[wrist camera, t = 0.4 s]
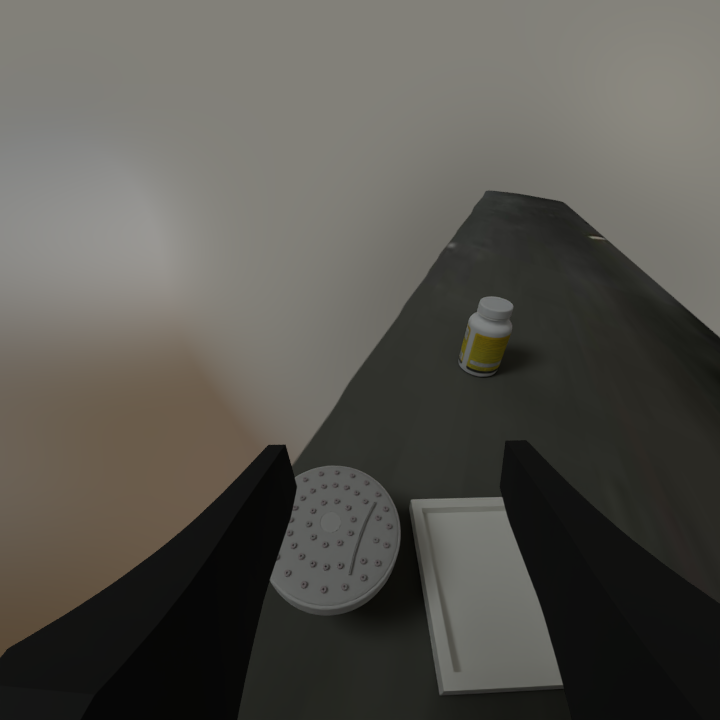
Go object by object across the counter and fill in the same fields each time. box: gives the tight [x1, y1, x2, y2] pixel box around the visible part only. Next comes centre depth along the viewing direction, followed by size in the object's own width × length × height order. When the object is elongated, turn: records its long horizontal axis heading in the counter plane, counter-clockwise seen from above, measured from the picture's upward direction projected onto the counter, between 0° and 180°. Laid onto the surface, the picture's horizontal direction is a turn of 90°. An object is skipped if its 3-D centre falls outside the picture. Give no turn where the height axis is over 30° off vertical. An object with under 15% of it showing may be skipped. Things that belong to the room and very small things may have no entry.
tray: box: [409, 497, 564, 696], centre depth 25 cm, size 12×12×2 cm
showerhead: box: [270, 466, 401, 615], centre depth 24 cm, size 9×7×10 cm
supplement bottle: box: [459, 297, 513, 377], centre depth 44 cm, size 5×5×10 cm
